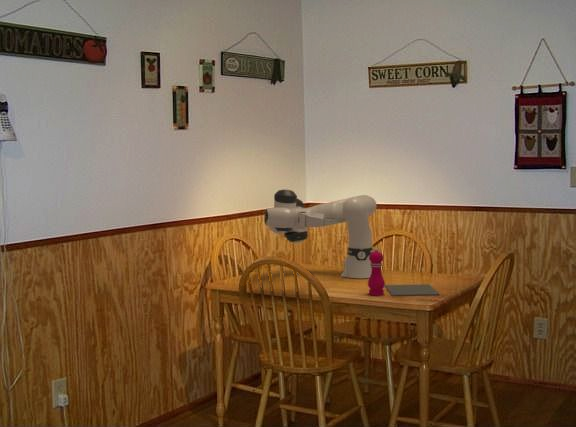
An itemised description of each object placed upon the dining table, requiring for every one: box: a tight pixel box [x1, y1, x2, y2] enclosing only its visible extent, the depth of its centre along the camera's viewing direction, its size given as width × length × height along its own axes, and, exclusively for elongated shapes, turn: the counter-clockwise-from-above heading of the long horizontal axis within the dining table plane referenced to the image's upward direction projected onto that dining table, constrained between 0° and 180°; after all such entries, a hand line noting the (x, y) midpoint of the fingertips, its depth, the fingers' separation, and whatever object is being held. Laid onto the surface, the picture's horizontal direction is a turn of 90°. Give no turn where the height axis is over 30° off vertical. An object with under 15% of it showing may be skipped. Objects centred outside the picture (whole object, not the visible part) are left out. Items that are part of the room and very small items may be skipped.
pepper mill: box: [367, 247, 386, 296], centre depth 336 cm, size 7×7×20 cm
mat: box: [384, 283, 440, 297], centre depth 343 cm, size 22×20×1 cm
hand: (334, 220), depth 335 cm, fingers open, 8 cm apart
